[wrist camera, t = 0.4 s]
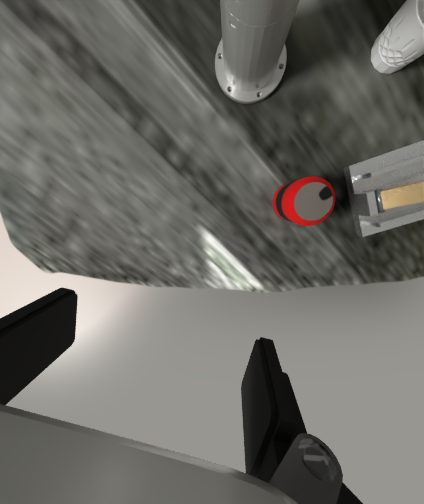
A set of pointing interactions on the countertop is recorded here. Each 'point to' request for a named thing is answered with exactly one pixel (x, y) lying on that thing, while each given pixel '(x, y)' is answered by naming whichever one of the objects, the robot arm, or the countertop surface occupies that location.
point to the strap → (399, 196)
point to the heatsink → (384, 188)
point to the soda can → (304, 201)
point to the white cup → (400, 39)
